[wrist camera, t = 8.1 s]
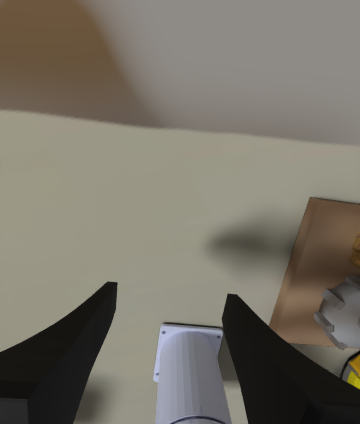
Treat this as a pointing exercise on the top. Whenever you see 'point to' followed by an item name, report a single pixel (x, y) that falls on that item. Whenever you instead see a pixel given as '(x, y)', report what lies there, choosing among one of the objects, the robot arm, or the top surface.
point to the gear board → (322, 279)
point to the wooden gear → (356, 253)
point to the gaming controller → (353, 372)
